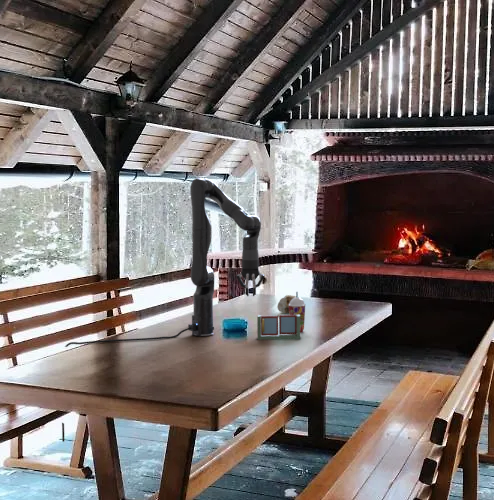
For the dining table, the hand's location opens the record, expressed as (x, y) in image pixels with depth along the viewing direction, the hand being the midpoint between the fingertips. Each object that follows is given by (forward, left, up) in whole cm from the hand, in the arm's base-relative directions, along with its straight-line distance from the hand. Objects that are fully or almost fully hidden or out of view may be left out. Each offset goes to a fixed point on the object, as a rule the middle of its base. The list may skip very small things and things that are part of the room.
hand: (250, 295), depth 339 cm
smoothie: (+30, +2, -21) cm, 37 cm away
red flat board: (+8, -4, -19) cm, 21 cm away
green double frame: (+13, -5, -21) cm, 25 cm away
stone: (+65, +50, -21) cm, 85 cm away
